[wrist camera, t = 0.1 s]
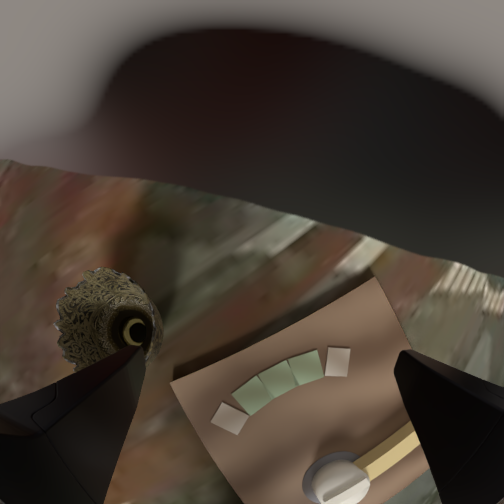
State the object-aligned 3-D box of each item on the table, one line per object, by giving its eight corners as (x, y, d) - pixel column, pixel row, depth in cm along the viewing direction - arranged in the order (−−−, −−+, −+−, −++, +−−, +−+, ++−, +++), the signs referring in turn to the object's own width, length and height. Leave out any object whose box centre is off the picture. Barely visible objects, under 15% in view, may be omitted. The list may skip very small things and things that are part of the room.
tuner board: (443, 446, 20) (451, 449, 18) (284, 546, 16) (286, 553, 15) (369, 279, 25) (376, 275, 24) (172, 381, 22) (168, 383, 20)
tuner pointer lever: (322, 505, 17) (333, 521, 14) (303, 476, 18) (312, 491, 15) (440, 421, 20) (459, 425, 17) (428, 390, 21) (448, 392, 18)
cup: (151, 275, 24) (118, 245, 17) (196, 345, 23) (178, 346, 15) (89, 318, 23) (39, 304, 15) (129, 388, 21) (86, 403, 13)
